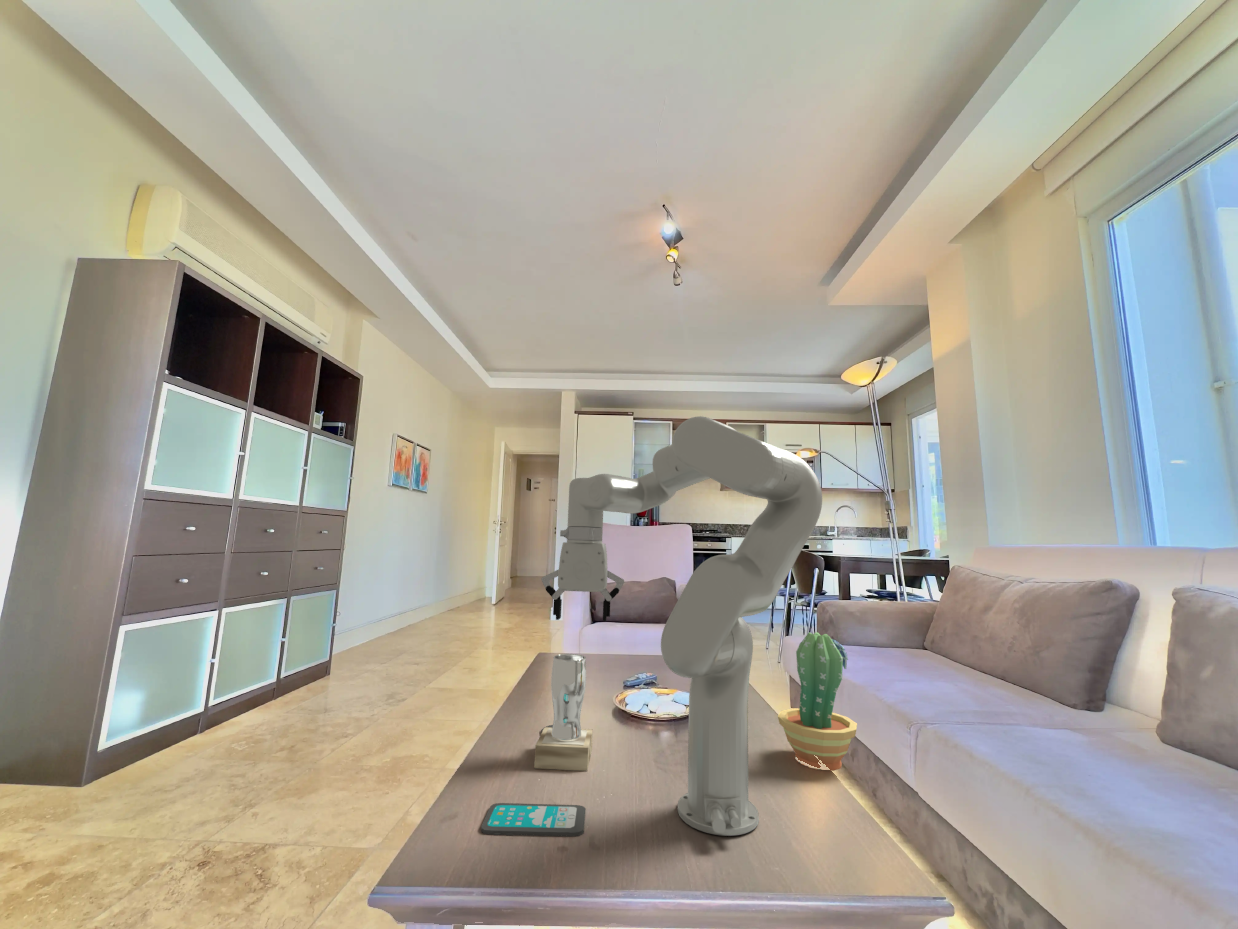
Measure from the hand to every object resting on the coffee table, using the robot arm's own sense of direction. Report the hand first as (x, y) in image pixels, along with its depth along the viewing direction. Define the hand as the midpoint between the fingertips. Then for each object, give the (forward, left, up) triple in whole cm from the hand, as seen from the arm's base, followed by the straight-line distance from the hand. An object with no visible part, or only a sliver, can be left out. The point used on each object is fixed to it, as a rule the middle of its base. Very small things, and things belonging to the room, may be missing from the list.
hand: (581, 619), depth 107 cm
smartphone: (-25, +3, -27) cm, 37 cm away
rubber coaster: (+13, +5, -26) cm, 30 cm away
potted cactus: (+4, -49, -27) cm, 56 cm away
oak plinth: (-1, +2, -26) cm, 27 cm away
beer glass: (-1, +2, -22) cm, 23 cm away
